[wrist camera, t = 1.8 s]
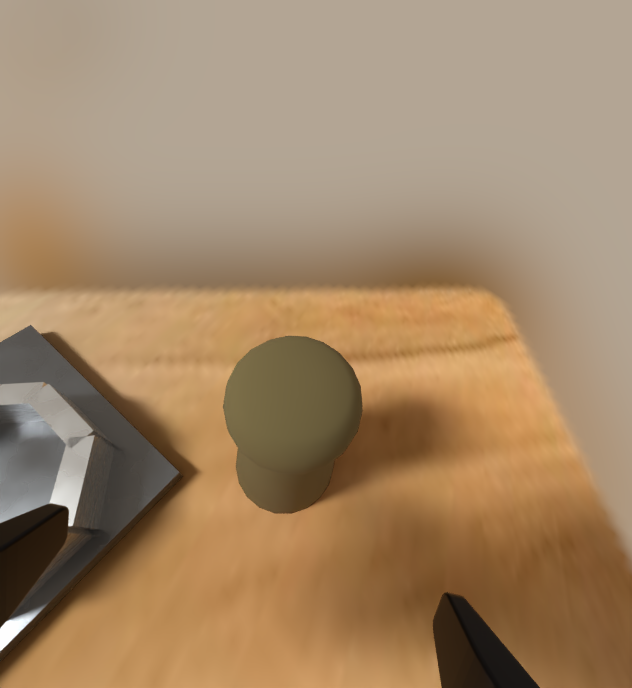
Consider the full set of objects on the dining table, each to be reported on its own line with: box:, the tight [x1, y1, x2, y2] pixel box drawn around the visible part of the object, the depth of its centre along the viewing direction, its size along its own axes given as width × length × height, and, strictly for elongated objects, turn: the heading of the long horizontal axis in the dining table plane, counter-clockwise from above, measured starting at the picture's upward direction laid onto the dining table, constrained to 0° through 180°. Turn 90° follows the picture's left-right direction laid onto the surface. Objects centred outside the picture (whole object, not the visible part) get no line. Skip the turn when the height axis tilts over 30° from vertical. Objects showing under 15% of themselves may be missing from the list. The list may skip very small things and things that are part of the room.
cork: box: [223, 336, 362, 513], centre depth 15 cm, size 6×6×11 cm
